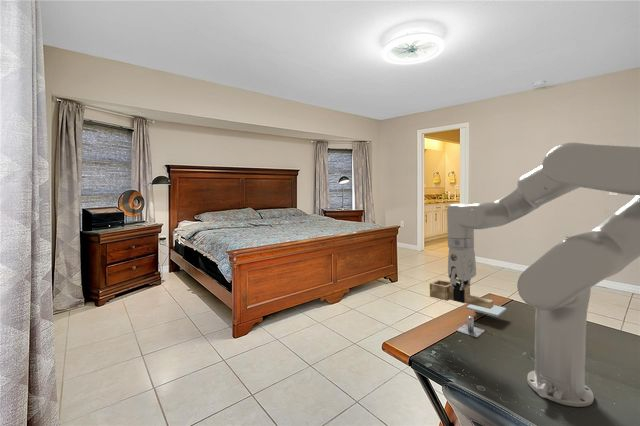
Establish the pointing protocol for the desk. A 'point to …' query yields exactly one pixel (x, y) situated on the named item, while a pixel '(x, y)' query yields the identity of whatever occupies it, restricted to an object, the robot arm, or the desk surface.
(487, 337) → the desk surface
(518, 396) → the desk surface
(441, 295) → the link
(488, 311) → the plate
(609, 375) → the desk surface
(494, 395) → the desk surface
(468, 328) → the pintle
